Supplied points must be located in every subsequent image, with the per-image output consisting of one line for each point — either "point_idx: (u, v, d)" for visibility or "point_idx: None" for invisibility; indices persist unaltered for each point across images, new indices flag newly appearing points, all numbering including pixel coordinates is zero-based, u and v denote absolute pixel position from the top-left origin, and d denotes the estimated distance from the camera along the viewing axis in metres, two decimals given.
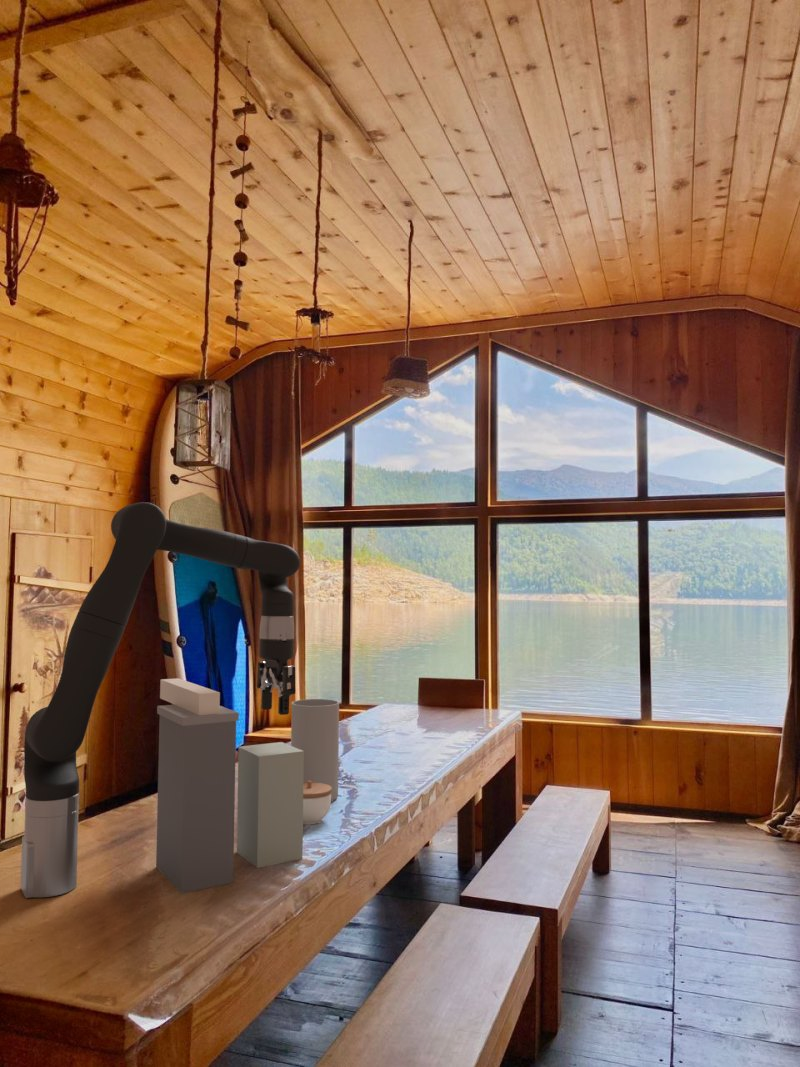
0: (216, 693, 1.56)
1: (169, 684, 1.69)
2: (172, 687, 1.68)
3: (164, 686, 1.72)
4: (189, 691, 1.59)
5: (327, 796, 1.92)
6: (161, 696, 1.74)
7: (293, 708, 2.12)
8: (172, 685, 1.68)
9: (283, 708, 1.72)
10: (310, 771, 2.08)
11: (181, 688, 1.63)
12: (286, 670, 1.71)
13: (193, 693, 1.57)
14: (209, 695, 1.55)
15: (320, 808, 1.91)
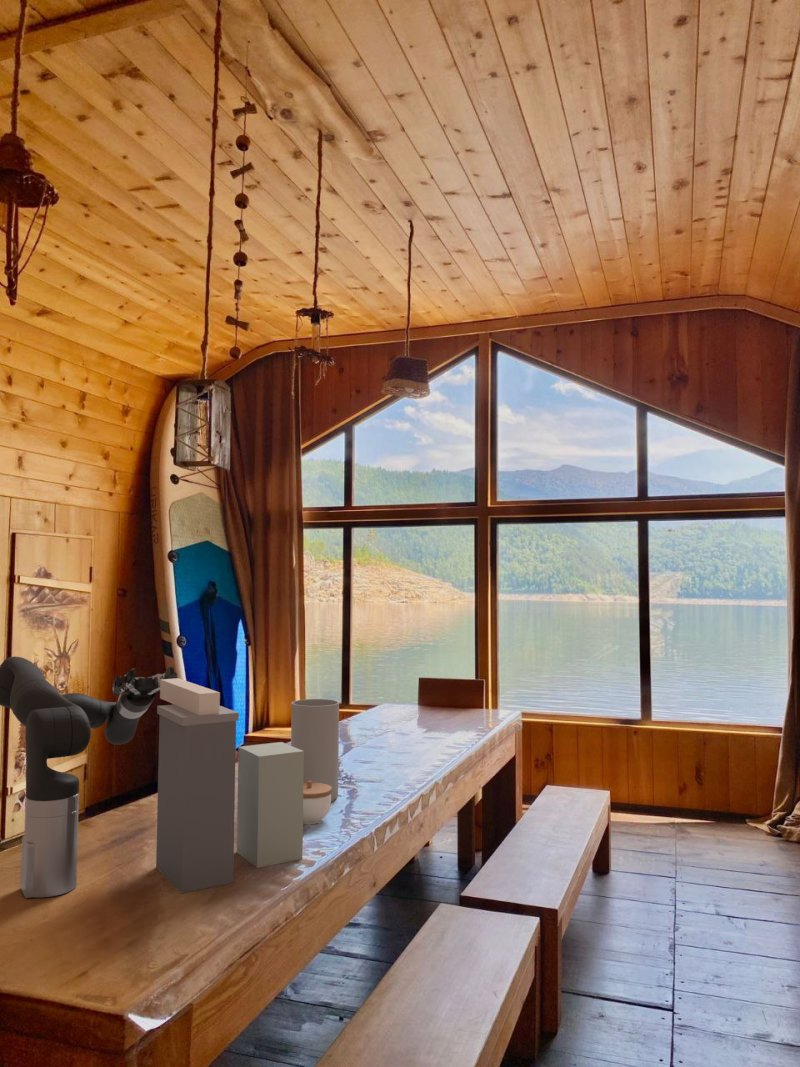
0: (216, 693, 1.56)
1: (169, 684, 1.69)
2: (172, 687, 1.68)
3: (164, 686, 1.72)
4: (189, 691, 1.59)
5: (327, 796, 1.92)
6: (161, 696, 1.74)
7: (293, 708, 2.12)
8: (172, 685, 1.68)
9: None
10: (310, 771, 2.08)
11: (181, 688, 1.63)
12: None
13: (193, 693, 1.57)
14: (209, 695, 1.55)
15: (320, 808, 1.91)
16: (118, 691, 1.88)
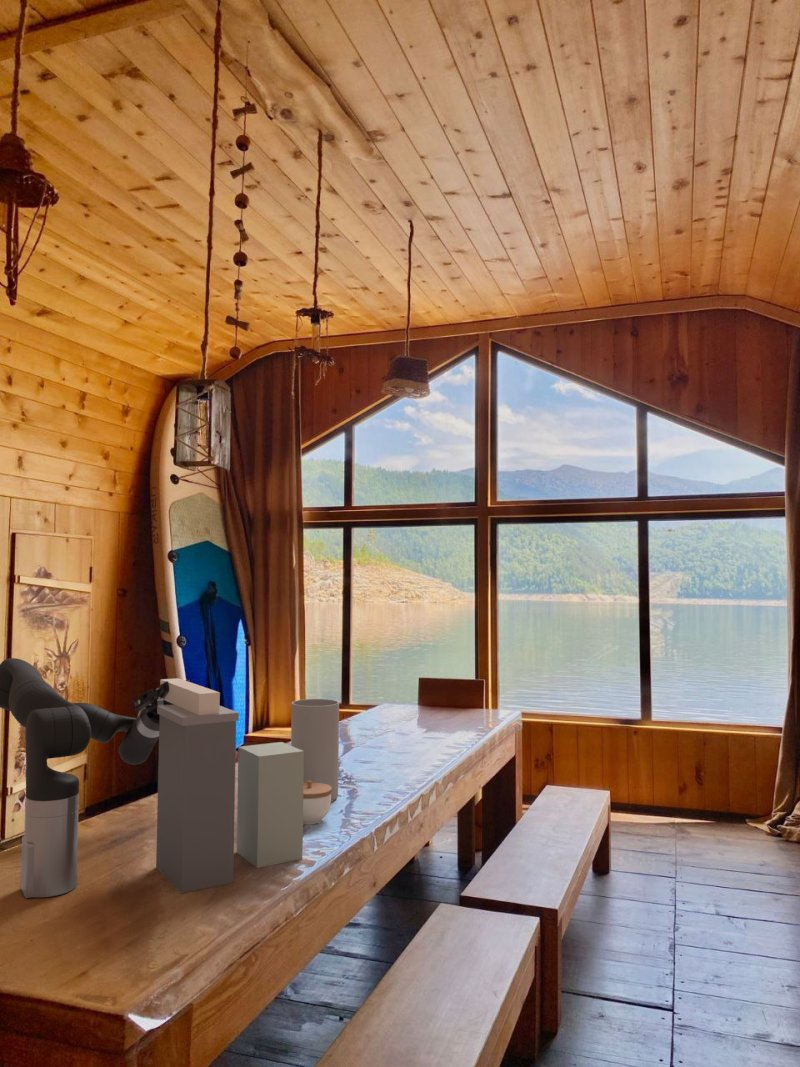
0: (216, 693, 1.56)
1: (169, 684, 1.69)
2: (172, 687, 1.68)
3: None
4: (189, 691, 1.59)
5: (327, 796, 1.92)
6: None
7: (293, 708, 2.12)
8: (172, 685, 1.68)
9: None
10: (310, 771, 2.08)
11: (181, 688, 1.63)
12: None
13: (193, 693, 1.57)
14: (209, 696, 1.55)
15: (320, 808, 1.91)
16: (144, 706, 1.73)
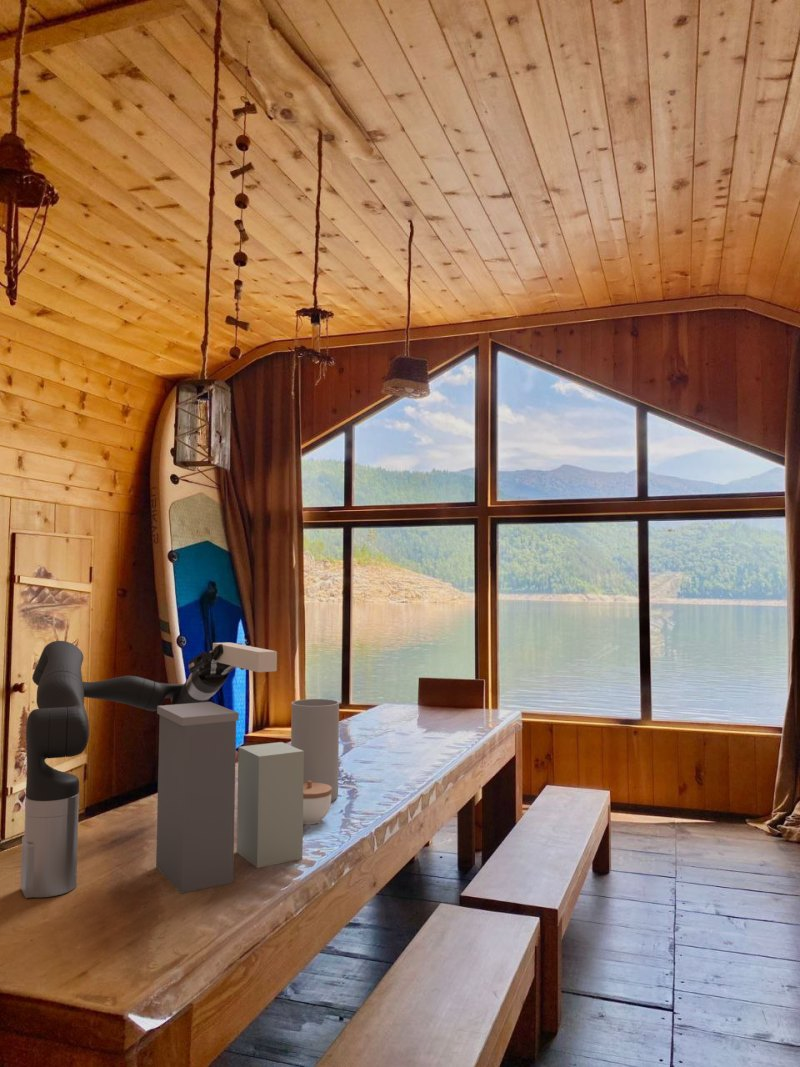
0: (274, 652, 1.65)
1: (223, 646, 1.78)
2: (227, 649, 1.77)
3: None
4: (247, 651, 1.68)
5: (327, 796, 1.92)
6: None
7: (293, 708, 2.12)
8: (227, 647, 1.77)
9: None
10: (310, 771, 2.08)
11: (237, 649, 1.72)
12: None
13: (251, 652, 1.66)
14: (267, 654, 1.64)
15: (320, 808, 1.91)
16: (198, 668, 1.82)
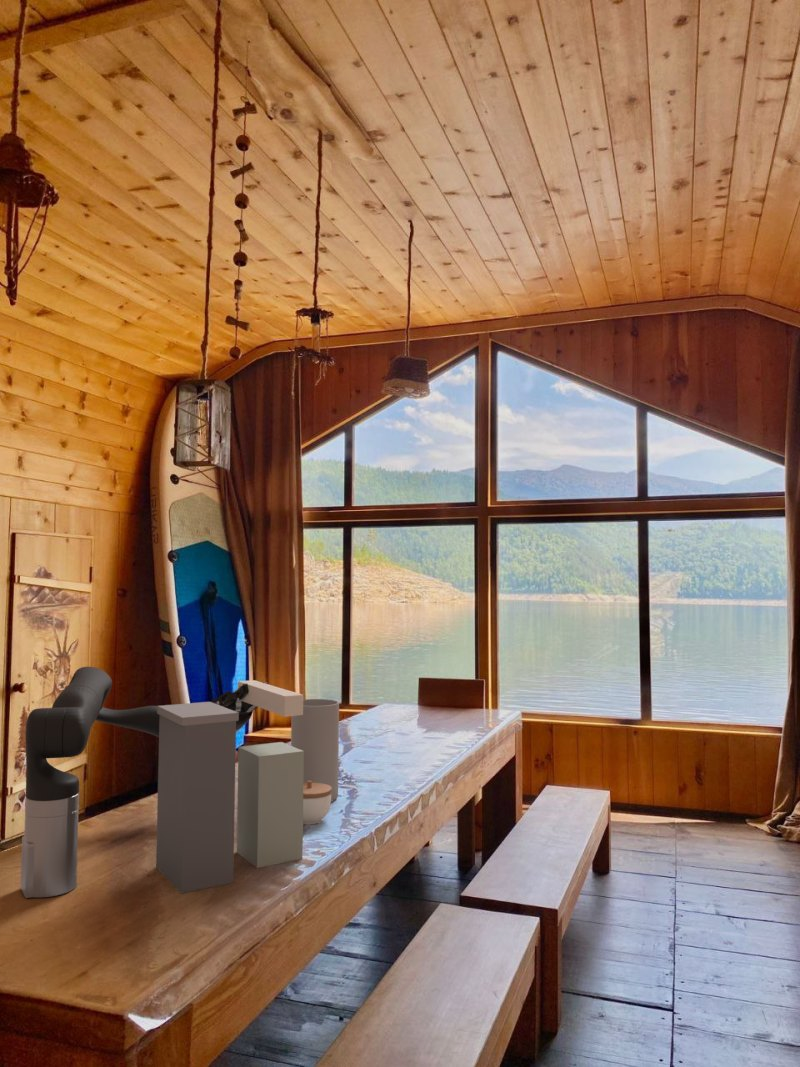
0: (300, 695, 1.64)
1: (248, 686, 1.77)
2: (252, 689, 1.76)
3: None
4: (273, 693, 1.67)
5: (327, 796, 1.92)
6: None
7: None
8: (252, 687, 1.76)
9: None
10: (310, 771, 2.08)
11: (263, 690, 1.71)
12: None
13: (277, 695, 1.65)
14: (293, 698, 1.63)
15: (320, 808, 1.91)
16: None
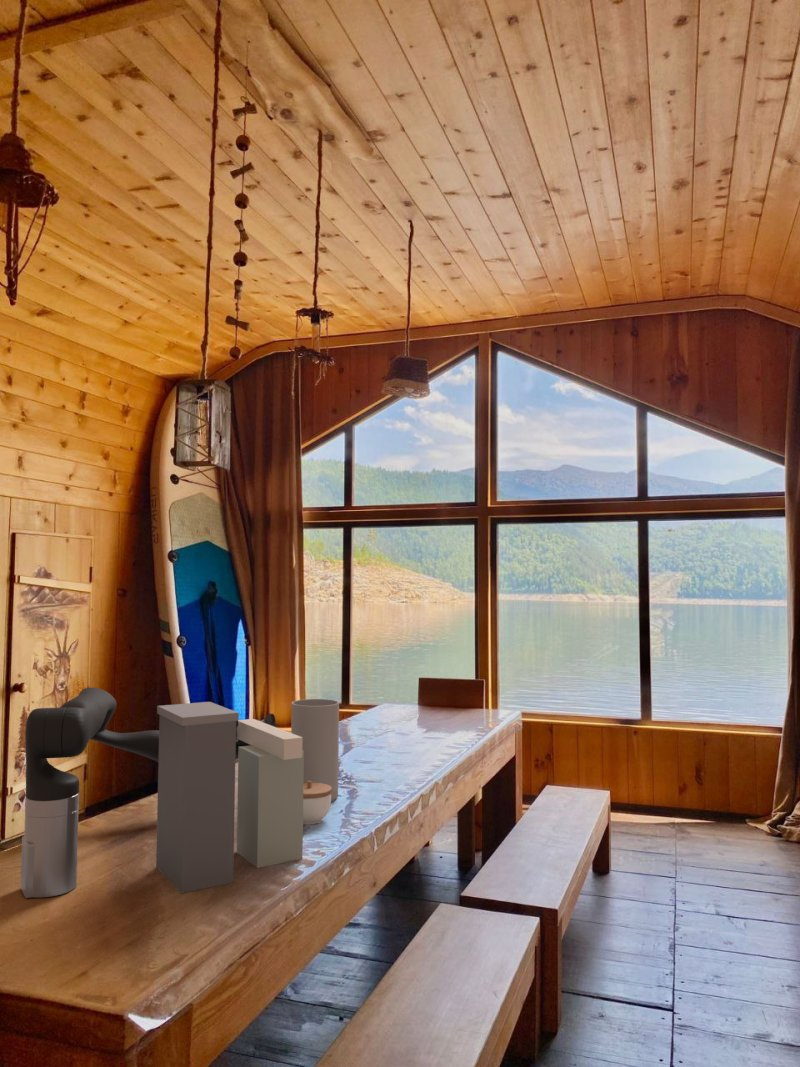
0: (299, 738, 1.63)
1: (247, 726, 1.77)
2: (251, 729, 1.75)
3: (241, 728, 1.80)
4: (272, 735, 1.66)
5: (327, 796, 1.92)
6: (238, 736, 1.81)
7: (293, 708, 2.12)
8: (251, 727, 1.75)
9: None
10: (310, 771, 2.08)
11: (262, 731, 1.70)
12: None
13: (277, 738, 1.64)
14: (292, 741, 1.62)
15: (320, 808, 1.91)
16: None
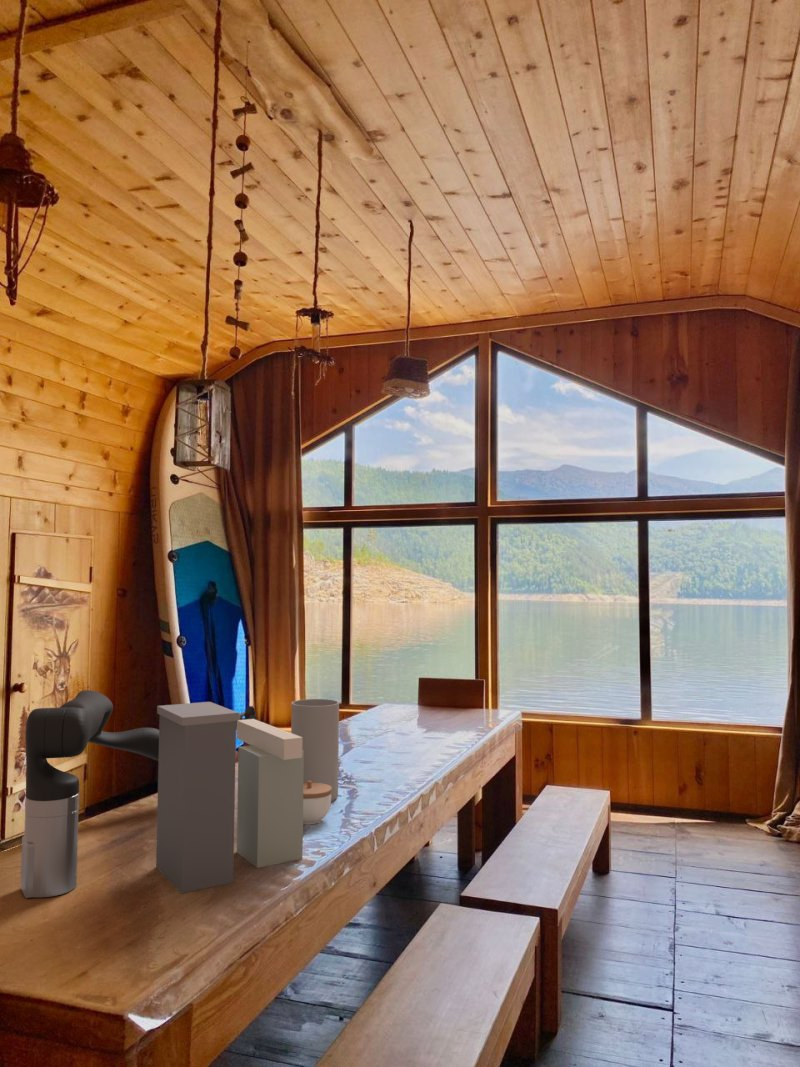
0: (299, 738, 1.63)
1: (247, 726, 1.77)
2: (251, 729, 1.75)
3: (241, 728, 1.80)
4: (272, 735, 1.66)
5: (327, 796, 1.92)
6: (238, 736, 1.81)
7: (293, 708, 2.12)
8: (251, 727, 1.75)
9: None
10: (310, 771, 2.08)
11: (262, 731, 1.70)
12: None
13: (277, 738, 1.64)
14: (292, 741, 1.62)
15: (320, 808, 1.91)
16: None
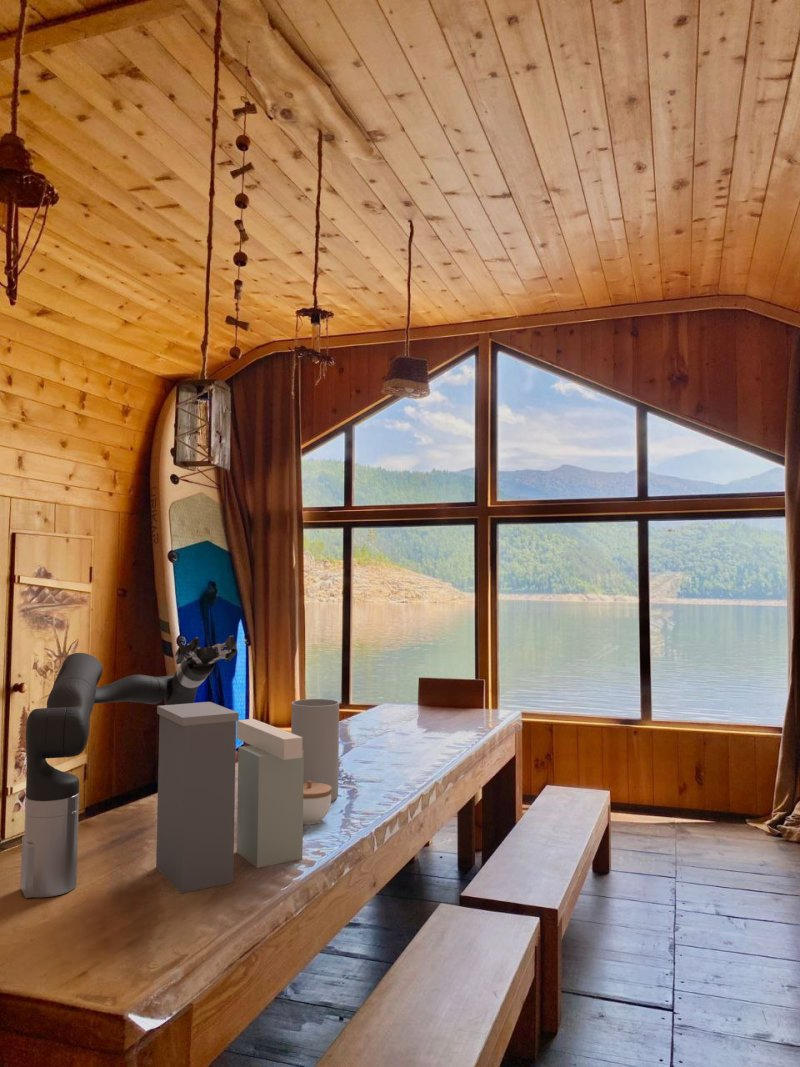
0: (299, 738, 1.63)
1: (247, 726, 1.77)
2: (251, 729, 1.75)
3: (241, 728, 1.80)
4: (272, 735, 1.66)
5: (327, 796, 1.92)
6: (238, 736, 1.81)
7: (293, 708, 2.12)
8: (251, 727, 1.75)
9: None
10: (310, 771, 2.08)
11: (262, 731, 1.70)
12: None
13: (277, 738, 1.64)
14: (292, 741, 1.62)
15: (320, 808, 1.91)
16: (181, 659, 1.97)
